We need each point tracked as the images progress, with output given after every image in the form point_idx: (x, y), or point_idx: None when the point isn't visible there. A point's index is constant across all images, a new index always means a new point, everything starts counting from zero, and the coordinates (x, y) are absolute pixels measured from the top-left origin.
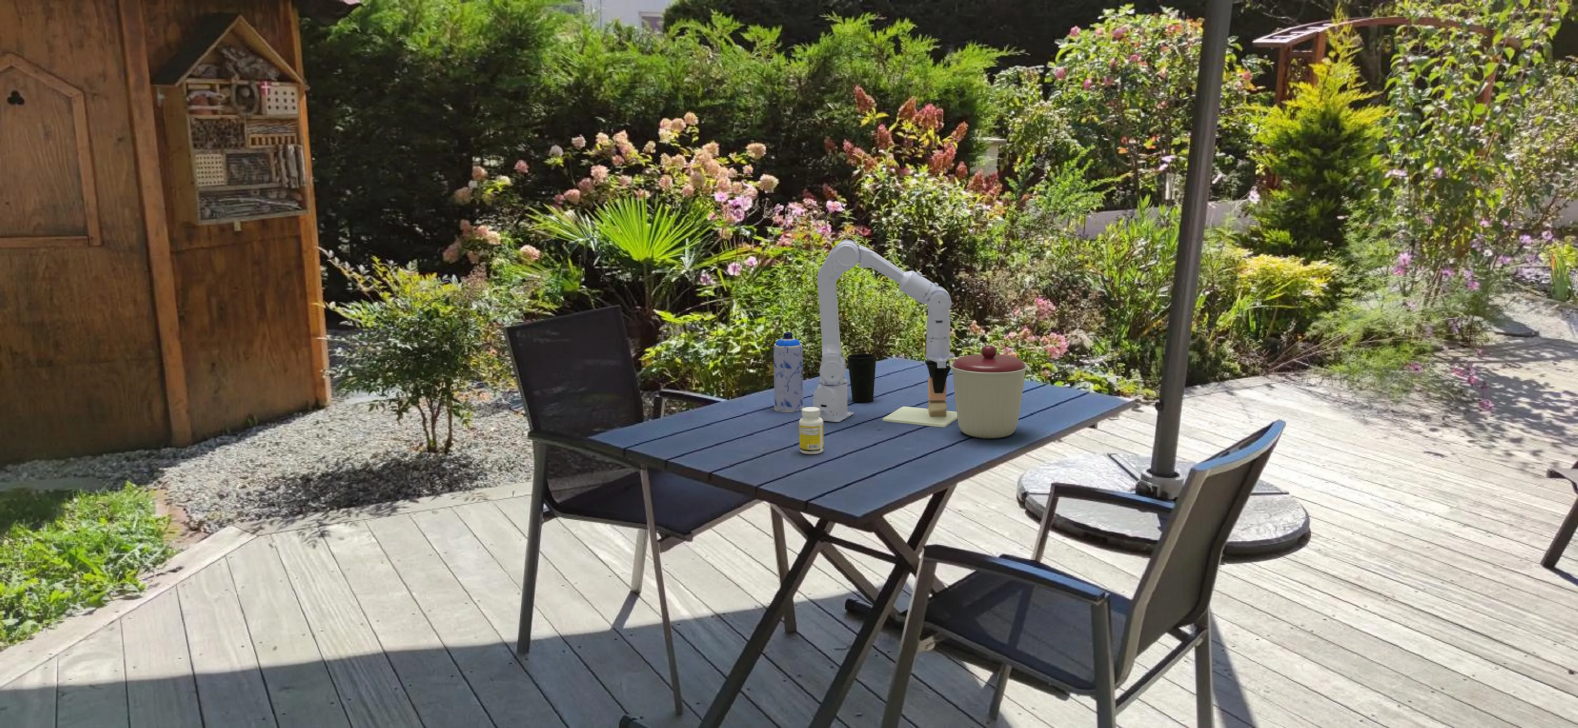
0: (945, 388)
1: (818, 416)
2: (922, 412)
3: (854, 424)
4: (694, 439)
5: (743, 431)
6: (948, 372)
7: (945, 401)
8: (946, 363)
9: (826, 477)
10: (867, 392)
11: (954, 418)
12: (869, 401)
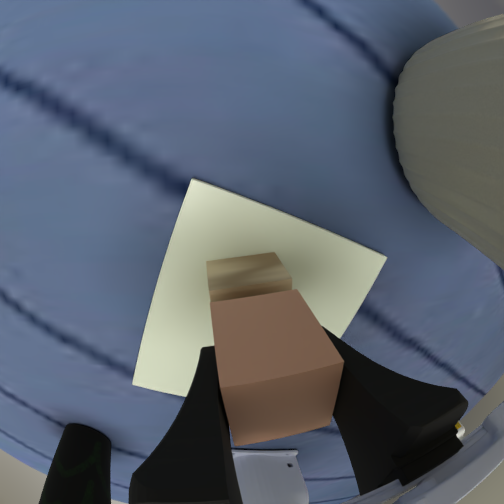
0: (321, 330)
1: (462, 437)
2: (209, 336)
3: (311, 431)
4: (345, 489)
5: (324, 485)
6: (434, 386)
7: (253, 284)
8: (227, 482)
9: (499, 361)
10: (100, 454)
11: (300, 219)
12: (98, 432)
